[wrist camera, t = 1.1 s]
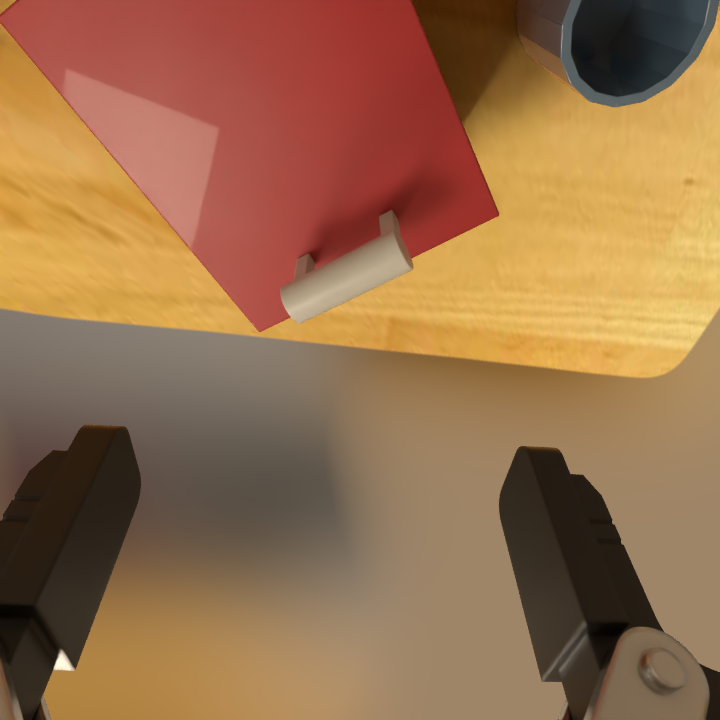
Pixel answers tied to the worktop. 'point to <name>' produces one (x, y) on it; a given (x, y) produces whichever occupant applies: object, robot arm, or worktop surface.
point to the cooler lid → (271, 135)
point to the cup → (615, 43)
